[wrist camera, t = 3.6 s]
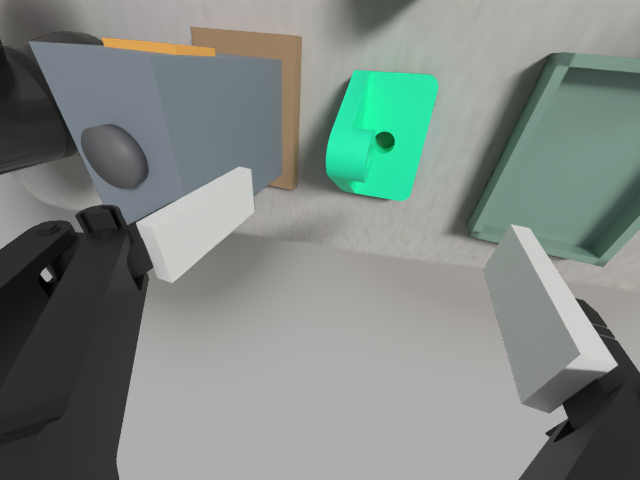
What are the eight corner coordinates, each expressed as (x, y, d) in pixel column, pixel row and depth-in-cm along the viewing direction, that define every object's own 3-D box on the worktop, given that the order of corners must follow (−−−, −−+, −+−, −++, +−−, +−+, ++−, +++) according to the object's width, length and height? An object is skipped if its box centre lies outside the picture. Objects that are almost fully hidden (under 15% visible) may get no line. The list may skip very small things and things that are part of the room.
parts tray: (466, 225, 31) (469, 236, 29) (550, 53, 21) (563, 52, 19) (590, 252, 28) (603, 266, 26) (752, 70, 18) (791, 70, 16)
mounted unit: (220, 169, 38) (91, 237, 23) (199, 28, 28) (-42, -11, 14) (297, 186, 35) (206, 273, 20) (301, 37, 26) (140, 0, 11)
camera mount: (409, 193, 31) (404, 238, 23) (347, 183, 33) (322, 221, 25) (440, 74, 24) (448, 79, 16) (359, 70, 26) (330, 72, 18)
